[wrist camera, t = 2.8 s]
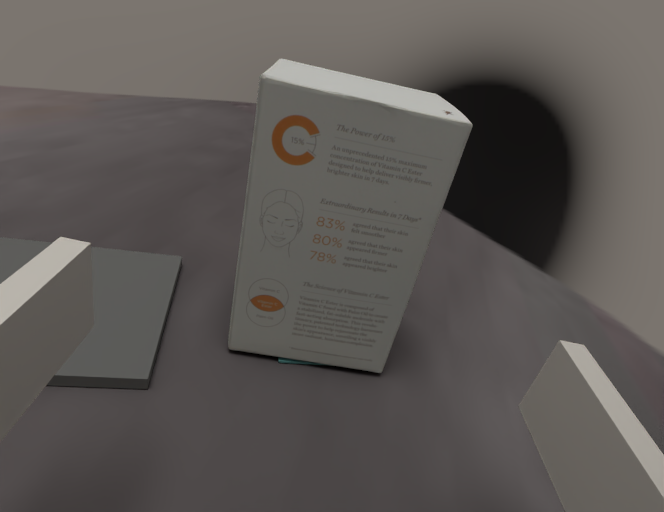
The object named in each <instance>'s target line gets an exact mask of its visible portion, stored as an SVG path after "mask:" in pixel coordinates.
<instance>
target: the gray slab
mask: <svg viewBox="0 0 664 512" xmlns="http://www.w3.org/2000/svg"><path fill="white" fill-rule="evenodd" d="M51 244H52V243H50V242H41V241H32V240H22V239H13V238H3V237H0V284H1V283H2V282H4V281H5V280H6V279H7V278H9V277H10V276H11V275H13V274H14V273H15V272H16V271H18V270H19V269H20V268H21V267H23V266H24V265H25V264H27V263H28V262H29V261H30V260H32V259H33V258H34V257H35V256H37V255H38V254H39V253H41V252H42V251H43V250H44V249H46V248H47V247H48V246H49V245H51ZM91 260H92V284H93V308H94V326H93V327H92V329H91V330H90V331H89V332H88V334H87V335H86V336H85V337H84V339H83V340H82V341H81V342H80V344H79V345H78V346H77V347H76V349H75V350H74V351H73V352H72V354H71V355H70V356H69V357H68V359H67V360H66V361H65V362H64V364H63V365H62V366H61V367H60V369H59V370H58V371H57V372H56V374H55V375H54V376H53V377H52V379H51V380H50V381H49V382H48V384H47V385H50V386H76V387H103V388H129V389H148V386H149V382H150V379H151V375H152V371H153V368H154V364H155V360H156V357H157V353H158V349H159V346H160V342H161V338H162V335H163V331H164V327H165V324H166V320H167V316H168V313H169V309H170V305H171V302H172V298H173V294H174V291H175V287H176V283H177V280H178V276H179V272H180V269H181V265H182V256H173V255H164V254H154V253H145V252H135V251H126V250H116V249H107V248H98V247H91Z"/></svg>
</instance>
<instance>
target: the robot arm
mask: <svg viewBox="0 0 664 512" xmlns="http://www.w3.org/2000/svg"><path fill="white" fill-rule="evenodd" d="M93 326H94V308H93V284H92V260H91V243H88V242H83V241H78V240H73V239H68V238H64V237H60V238H58V239H57V240H56V241H55V242H53V243H52V244H51V245H49V246H48V247H47V248H46V249H44V250H43V251H42V252H41V253H39V254H38V255H37V256H35V257H34V258H33V259H32V260H30V261H29V262H28V263H27V264H25V265H24V266H23V267H21V268H20V269H19V270H18V271H16V272H15V273H14V274H13V275H11V276H10V277H9V278H7V279H6V280H5V281H4V282H2V283H1V284H0V442H1V441H2V440H3V438H4V437H5V436H6V435H7V433H8V432H9V431H10V430H11V428H12V427H13V426H14V425H15V423H16V422H17V421H18V420H19V418H20V417H21V416H22V415H23V413H24V412H25V411H26V410H27V408H28V407H29V406H30V405H31V403H32V402H33V401H34V400H35V399H36V397H37V396H38V395H39V394H40V392H41V391H42V390H43V389H44V387H45V386H46V385H47V384H48V382H49V381H50V380H51V379H52V377H53V376H54V375H55V374H56V372H57V371H58V370H59V369H60V367H61V366H62V365H63V364H64V362H65V361H66V360H67V359H68V357H69V356H70V355H71V354H72V352H73V351H74V350H75V349H76V347H77V346H78V345H79V344H80V342H81V341H82V340H83V339H84V337H85V336H86V335H87V334H88V332H89V331H90V330H91V329H92V327H93ZM518 407H519V409H520V411H521V414H522V416H523V418H524V420H525V423H526V425H527V427H528V429H529V432H530V434H531V436H532V438H533V441H534V443H535V445H536V447H537V450H538V452H539V454H540V456H541V459H542V461H543V463H544V465H545V468H546V470H547V472H548V474H549V477H550V479H551V481H552V483H553V486H554V488H555V490H556V492H557V495H558V497H559V499H560V501H561V504H562V506H563V508H564V510H565V512H664V455H663V453H662V452H661V451H660V449H659V448H658V446H657V445H656V444H655V442H654V441H653V440H652V438H651V437H650V435H649V434H648V433H647V431H646V430H645V429H644V427H643V426H642V424H641V423H640V422H639V420H638V419H637V418H636V416H635V415H634V413H633V412H632V411H631V409H630V408H629V406H628V405H627V404H626V402H625V401H624V400H623V398H622V397H621V395H620V394H619V393H618V391H617V390H616V389H615V387H614V386H613V384H612V383H611V382H610V380H609V379H608V378H607V376H606V375H605V373H604V372H603V371H602V369H601V368H600V367H599V365H598V364H597V362H596V361H595V360H594V358H593V357H592V355H591V354H590V353H589V351H588V350H587V349H586V347H585V346H584V345H581V344H576V343H571V342H566V341H562V340H559V341H558V343H557V345H556V346H555V348H554V349H553V351H552V353H551V354H550V356H549V357H548V359H547V361H546V362H545V364H544V365H543V367H542V369H541V370H540V372H539V374H538V375H537V377H536V378H535V380H534V382H533V383H532V385H531V386H530V388H529V390H528V391H527V393H526V394H525V396H524V398H523V399H522V401H521V402H520V404H519V406H518Z"/></svg>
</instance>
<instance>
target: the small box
mask: <svg viewBox="0 0 664 512" xmlns="http://www.w3.org/2000/svg"><path fill="white" fill-rule="evenodd" d="M471 128H472V123H471V122H470V121H469V120H468V119H467V118H466V117H465V116H464V115H463V114H462V113H461V112H460V111H459V110H457V109H456V108H455V107H454V106H452V105H451V104H450V103H449V102H447V101H446V100H444V99H443V98H441V97H440V96H438V95H437V94H434V93H429V92H425V91H420V90H416V89H411V88H407V87H403V86H398V85H394V84H389V83H385V82H381V81H376V80H371V79H368V78H363V77H359V76H354V75H350V74H346V73H341V72H337V71H332V70H328V69H324V68H320V67H316V66H311V65H307V64H302V63H298V62H294V61H290V60H286V59H279V60H278V61H277V62H276V63H275V64H274V65H273V66H272V67H270V68H269V69H268V70H267V71H266V72H264V73H263V74H262V75H260V78H259V88H258V98H257V107H256V117H255V125H254V134H253V142H252V150H251V158H250V166H249V174H248V182H247V190H246V198H245V207H244V215H243V224H242V232H241V239H240V246H239V254H238V262H237V270H236V278H235V286H234V295H233V303H232V311H231V320H230V328H229V339H228V348H229V349H230V350H236V351H244V352H250V353H257V354H263V355H270V356H276V357H282V358H289V359H295V360H301V361H308V362H314V363H320V364H327V365H333V366H340V367H346V368H352V369H359V370H365V371H371V372H376V373H381V372H382V371H383V368H384V366H385V363H386V360H387V358H388V355H389V352H390V350H391V347H392V344H393V341H394V339H395V336H396V333H397V331H398V328H399V326H400V323H401V320H402V318H403V315H404V313H405V310H406V307H407V304H408V302H409V299H410V296H411V293H412V291H413V288H414V285H415V282H416V280H417V277H418V274H419V271H420V268H421V266H422V263H423V260H424V257H425V254H426V252H427V249H428V246H429V243H430V240H431V238H432V235H433V232H434V229H435V226H436V224H437V221H438V218H439V216H440V213H441V210H442V207H443V205H444V202H445V199H446V197H447V194H448V191H449V188H450V186H451V183H452V180H453V178H454V175H455V172H456V169H457V167H458V164H459V161H460V158H461V156H462V153H463V150H464V147H465V145H466V142H467V139H468V136H469V134H470V131H471Z"/></svg>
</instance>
